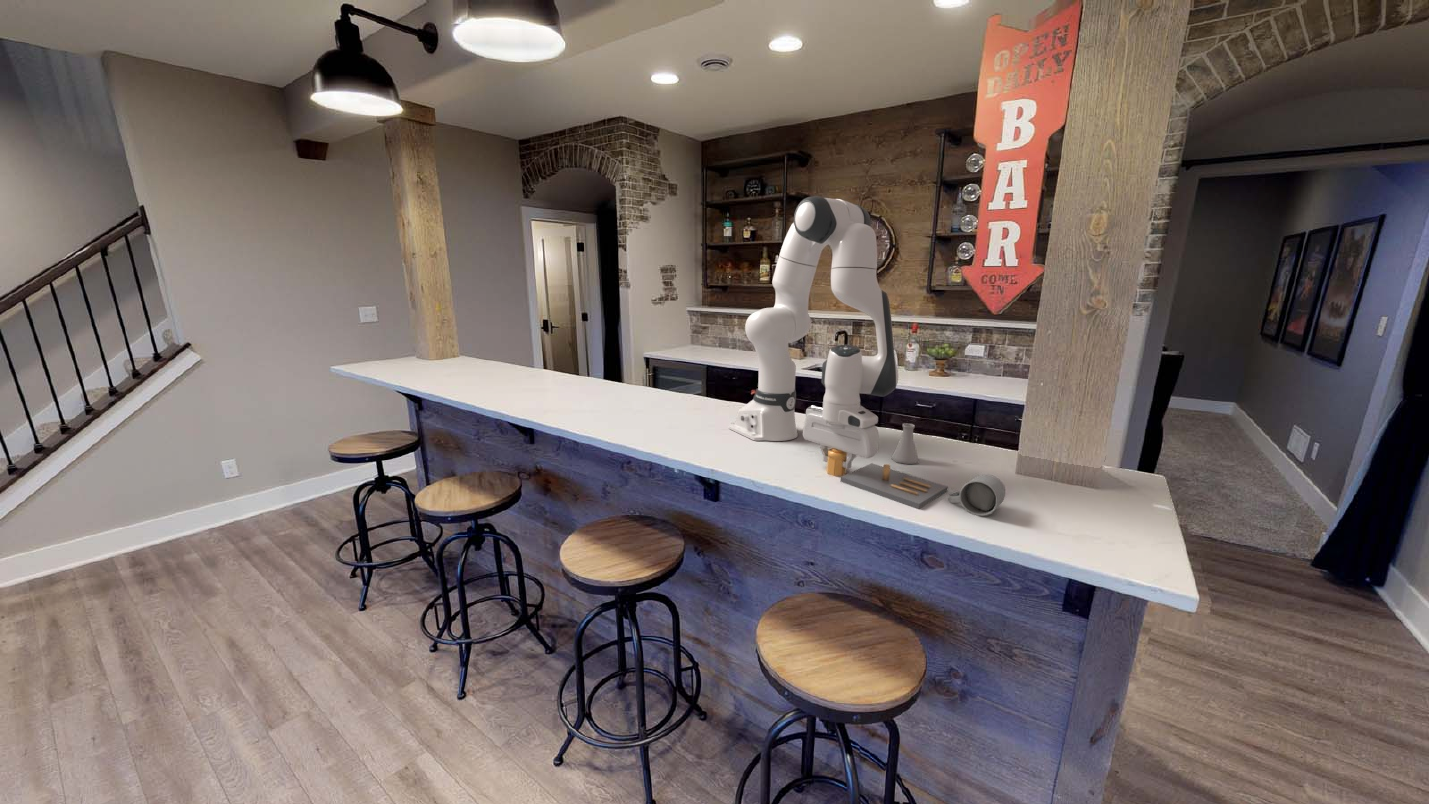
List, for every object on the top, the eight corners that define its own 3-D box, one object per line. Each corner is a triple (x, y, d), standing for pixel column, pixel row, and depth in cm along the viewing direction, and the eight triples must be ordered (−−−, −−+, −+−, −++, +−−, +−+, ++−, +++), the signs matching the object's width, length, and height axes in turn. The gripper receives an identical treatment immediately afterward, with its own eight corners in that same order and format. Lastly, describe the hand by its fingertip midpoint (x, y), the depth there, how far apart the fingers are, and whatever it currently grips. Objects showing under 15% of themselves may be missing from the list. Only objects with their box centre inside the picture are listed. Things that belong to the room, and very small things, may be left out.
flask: (915, 456, 147) (918, 421, 145) (922, 465, 140) (926, 429, 138) (888, 455, 148) (891, 420, 146) (894, 464, 141) (897, 428, 139)
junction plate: (840, 481, 129) (841, 463, 128) (871, 467, 138) (872, 450, 137) (918, 508, 115) (921, 488, 114) (947, 491, 124) (949, 472, 123)
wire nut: (823, 472, 135) (824, 447, 133) (833, 467, 138) (835, 443, 136) (838, 477, 132) (840, 452, 130) (848, 473, 135) (850, 448, 133)
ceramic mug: (1005, 508, 116) (1009, 475, 114) (995, 521, 110) (999, 486, 108) (954, 495, 123) (958, 463, 121) (942, 506, 117) (946, 473, 115)
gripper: (799, 405, 136) (796, 456, 139) (870, 423, 122) (865, 479, 125) (814, 401, 140) (811, 451, 144) (884, 418, 126) (879, 473, 129)
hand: (836, 464), depth 134 cm, fingers closed on wire nut, 4 cm apart
